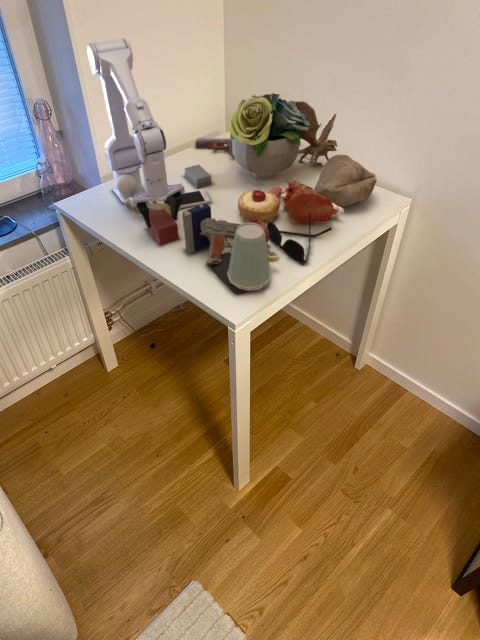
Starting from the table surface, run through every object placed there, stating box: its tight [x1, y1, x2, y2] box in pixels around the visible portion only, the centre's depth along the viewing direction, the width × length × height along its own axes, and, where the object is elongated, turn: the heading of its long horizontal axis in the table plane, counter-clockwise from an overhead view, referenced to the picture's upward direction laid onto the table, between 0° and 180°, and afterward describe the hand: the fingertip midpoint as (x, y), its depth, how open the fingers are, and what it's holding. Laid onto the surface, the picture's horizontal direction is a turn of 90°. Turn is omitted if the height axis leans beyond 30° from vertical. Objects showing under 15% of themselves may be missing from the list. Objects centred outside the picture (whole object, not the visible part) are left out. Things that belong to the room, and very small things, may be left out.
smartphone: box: [155, 189, 211, 210], centre depth 147 cm, size 7×15×1 cm, turn 109°
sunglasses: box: [266, 213, 332, 265], centre depth 130 cm, size 17×14×5 cm
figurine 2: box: [267, 186, 289, 213], centre depth 145 cm, size 12×3×7 cm
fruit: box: [245, 217, 270, 245], centre depth 126 cm, size 8×8×10 cm
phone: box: [207, 251, 247, 295], centre depth 122 cm, size 7×1×15 cm
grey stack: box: [184, 164, 213, 189], centre depth 157 cm, size 9×5×3 cm, turn 30°
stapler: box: [331, 203, 345, 219], centre depth 139 cm, size 13×5×2 cm
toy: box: [267, 244, 275, 256], centre depth 128 cm, size 1×8×2 cm
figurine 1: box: [124, 198, 172, 217], centre depth 140 cm, size 5×5×15 cm
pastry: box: [237, 183, 281, 224], centre depth 139 cm, size 12×12×9 cm
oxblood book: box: [149, 209, 179, 236], centre depth 132 cm, size 9×6×2 cm, turn 30°
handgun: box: [194, 137, 235, 159], centre depth 171 cm, size 3×19×12 cm
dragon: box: [293, 100, 338, 166], centre depth 160 cm, size 17×25×19 cm
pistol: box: [200, 217, 242, 266], centre depth 128 cm, size 19×2×12 cm
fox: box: [268, 254, 282, 263], centre depth 121 cm, size 12×9×2 cm
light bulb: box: [115, 174, 137, 200], centre depth 142 cm, size 6×6×10 cm
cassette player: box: [181, 203, 212, 255], centre depth 126 cm, size 7×2×12 cm, turn 125°
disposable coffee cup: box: [227, 221, 272, 292], centre depth 114 cm, size 11×11×15 cm
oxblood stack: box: [147, 226, 180, 246], centre depth 134 cm, size 9×6×3 cm, turn 30°
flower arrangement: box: [228, 91, 310, 180], centre depth 151 cm, size 25×25×24 cm
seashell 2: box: [313, 154, 378, 207], centre depth 144 cm, size 16×17×15 cm
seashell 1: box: [282, 177, 338, 225], centre depth 133 cm, size 17×11×15 cm
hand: (161, 222), depth 133 cm, fingers open, 7 cm apart
